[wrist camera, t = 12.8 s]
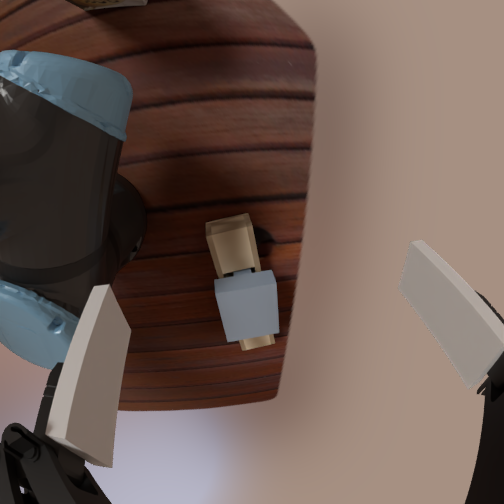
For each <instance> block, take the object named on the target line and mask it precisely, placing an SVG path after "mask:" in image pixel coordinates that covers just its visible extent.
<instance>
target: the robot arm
mask: <svg viewBox="0 0 504 504" xmlns="http://www.w3.org/2000/svg"><path fill="white" fill-rule="evenodd" d="M132 98H133V91H132V87H131V84H130V83H129V81H128V80H127V79H126V78H125V77H124V76H123V75H121V74H120V73H118V72H116V71H113V70H111V69H108V68H106V67H103V66H100V65H97V64H94V63H91V62H87V61H84V60H80V59H76V58H72V57H67V56H62V55H57V54H51V53H45V52H36V51H33V52H29V51H17V50H6V51H2V52H0V342H1V343H2V344H3V345H4V346H6V347H7V348H8V349H9V350H11V351H12V352H13V353H15V354H16V355H18V356H20V357H21V358H23V359H25V360H27V361H29V362H31V363H33V364H35V365H38V366H41V367H44V368H47V369H51V370H52V371H51V372H50V375H49V378H48V381H47V384H46V385H47V387H46V388H45V391H44V394H43V395H44V397H43V398H42V401H41V405H40V409H39V413H38V417H37V421H36V425H35V429H34V432H33V433H32V432H30V431H29V430H28V429H26V428H25V427H24V426H22V425H21V424H19V423H12V424H10V425H8V426H7V427H6V428H5V430H4V432H3V434H2V441H1V443H0V504H112V503H111V502H110V501H109V499H108V498H107V497H106V495H105V494H104V493H103V491H102V490H101V488H100V487H99V485H98V484H97V483H96V481H95V480H94V478H93V477H92V475H91V473H90V472H89V470H88V469H87V468H86V467H85V466H84V465H85V460H86V461H87V462H89V463H91V464H93V465H97V466H103V467H109V468H112V463H113V462H112V461H113V449H114V437H115V427H116V418H117V410H118V403H119V396H120V389H121V383H122V377H123V371H124V365H125V360H126V354H127V349H128V344H129V339H130V335H131V329H130V327H129V325H128V323H127V321H126V319H125V317H124V315H123V313H122V311H121V309H120V307H119V305H118V302H117V300H116V298H115V296H114V294H113V292H112V289H111V287H112V284H113V281H114V279H115V276H116V273H117V272H118V271H119V270H120V269H122V268H123V267H124V266H125V265H126V264H127V263H129V262H130V261H131V260H132V259H133V258H134V257H135V255H136V254H137V252H138V251H139V249H140V247H141V244H142V242H143V239H144V236H145V233H146V227H147V217H146V211H145V207H144V204H143V201H142V199H141V197H140V195H139V194H138V192H137V191H136V189H135V188H134V187H133V186H132V184H131V183H130V182H129V181H127V180H126V179H125V178H124V177H122V176H121V175H119V174H117V170H118V165H119V160H120V155H121V151H122V146H123V142H124V141H126V138H127V136H126V133H125V130H126V125H127V120H128V115H129V111H130V107H131V102H132ZM398 289H399V290H400V292H401V293H402V294H403V296H404V297H405V298H406V300H407V301H408V302H409V303H410V305H411V306H412V307H413V309H414V310H415V311H416V313H417V314H418V315H419V317H420V318H421V320H422V321H423V322H424V324H425V325H426V326H427V328H428V329H429V331H430V332H431V333H432V335H433V336H434V338H435V339H436V341H437V342H438V343H439V345H440V347H441V348H442V349H443V351H444V352H445V354H446V355H447V357H448V358H449V360H450V362H451V363H452V365H453V366H454V368H455V369H456V371H457V373H458V374H459V375H460V377H461V379H462V380H463V382H464V384H465V385H466V387H467V389H470V388H471V387H473V386H474V385H476V384H477V383H479V382H480V381H481V379H482V378H483V377H484V376H485V375H486V374H488V376H489V377H488V378H487V379H486V380H485V382H484V383H483V384H482V385H481V386H480V387H479V389H478V390H477V394H479V393H480V392H481V391H482V390H483V389H484V388H485V390H484V391H483V392H482V394H481V395H485V404H484V416H483V424H482V432H481V439H480V445H479V450H478V455H477V460H476V465H475V469H474V473H473V477H472V481H471V485H470V488H469V492H468V495H467V498H466V501H465V504H504V319H503V318H502V317H501V316H500V314H499V313H497V312H496V310H495V309H494V308H493V307H491V304H490V303H489V302H488V301H487V300H486V298H485V297H484V296H482V295H481V294H479V293H478V292H476V291H474V290H473V289H472V288H471V287H470V286H469V285H468V284H467V283H466V282H465V281H464V279H462V277H461V276H460V275H459V274H458V273H457V272H456V271H455V270H453V268H452V267H451V266H450V265H448V263H446V262H445V261H444V260H443V259H442V258H441V257H440V256H439V255H438V254H437V253H436V252H435V251H434V250H433V249H432V248H430V246H428V245H427V244H426V243H425V242H424V241H423V240H417V241H411V242H410V246H409V249H408V253H407V257H406V261H405V265H404V269H403V272H402V276H401V279H400V282H399V286H398ZM20 486H21V487H23V488H24V494H23V493H21V490H20Z"/></svg>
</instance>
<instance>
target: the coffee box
mask: <svg viewBox="0 0 504 504" xmlns="http://www.w3.org/2000/svg"><path fill="white" fill-rule="evenodd" d="M66 1H68V2H70V3H72V4H74V5H76V6H78V7H79V8H81V9H83V10H85V11H86V10H93V9H101V8H110V7H121V6H141V5H146V4H147V1H148V0H66Z"/></svg>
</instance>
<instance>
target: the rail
mask: <svg viewBox="0 0 504 504" xmlns="http://www.w3.org/2000/svg"><path fill="white" fill-rule="evenodd" d="M206 239H207V242H208V245H209V249H210V252H211V255H212V259H213V262H214V265H215V268H216V272H217V275H218V278H219V279H221V278H227V277H233V276H234V274H233V272H234V271H238V270H242V269H247V268H251V272H252V273H256V272H261V267H260V262H259V257H258V252H257V247H256V241H255V236H254V231H253V226H252V223H251V220H250V217H249V214H248V213H245V214H240V215H236V216H232V217H227V218H223V219H219V220H215V221H211V222H206ZM239 342H240V345H241V348H242V351H243V350H248V349H253V348H257V347H261V346H266V345H270V344H274V343H275V340H274V335H273V334H270V335H265V336H260V337H254V338H249V339H243V340H239Z"/></svg>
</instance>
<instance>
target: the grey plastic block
mask: <svg viewBox="0 0 504 504" xmlns="http://www.w3.org/2000/svg"><path fill="white" fill-rule="evenodd" d="M233 274H234V276H233V277H227V278H221V279H215V280H214V284H215V295H216V299H217V303H218V307H219V311H220V315H221V318H222V322H223V326H224V330H225V334H226V337H227V341H228V342H231V341H237V340H243V339H249V338H254V337H260V336H265V335H270V334H275V333H279V318H278V301H277V284H276V280H275V278H274V275H273V272H272V270H267V271H261V272H256V273H252V272H251V268H247V269H242V270H238V271H234V272H233Z"/></svg>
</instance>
